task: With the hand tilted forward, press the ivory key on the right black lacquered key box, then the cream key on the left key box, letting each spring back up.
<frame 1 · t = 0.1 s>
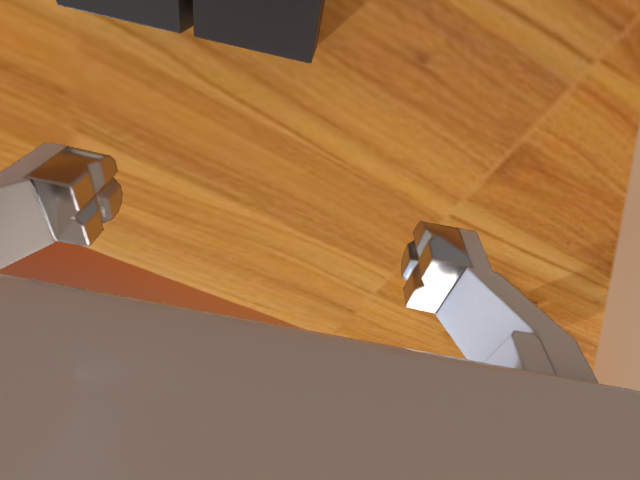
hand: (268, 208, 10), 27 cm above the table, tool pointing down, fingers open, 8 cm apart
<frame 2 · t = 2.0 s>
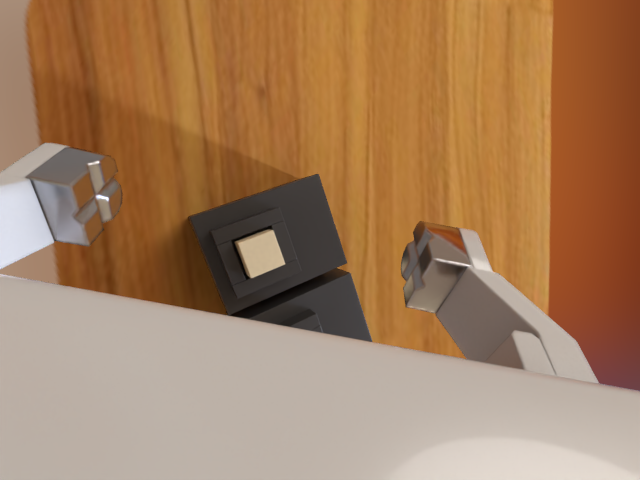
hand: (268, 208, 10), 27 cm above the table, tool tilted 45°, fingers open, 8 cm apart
high key box: (262, 238, 37), on the table
high key: (259, 253, 29), point 7 cm above the table, slide at 0.1 cm
low key box: (294, 324, 39), on the table
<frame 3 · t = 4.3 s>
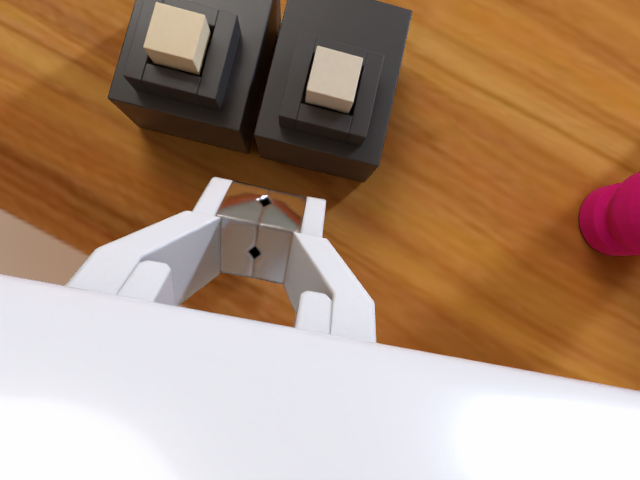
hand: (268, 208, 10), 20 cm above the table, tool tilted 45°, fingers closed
high key box: (211, 72, 30), on the table
high key: (178, 39, 23), point 7 cm above the table, slide at 0.1 cm
low key box: (327, 103, 31), on the table
low key: (333, 80, 23), point 7 cm above the table, slide at 0.1 cm
pepper mill: (608, 221, 32), on the table
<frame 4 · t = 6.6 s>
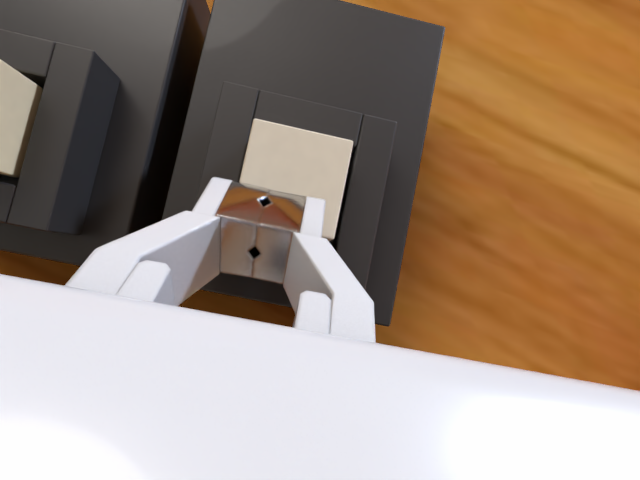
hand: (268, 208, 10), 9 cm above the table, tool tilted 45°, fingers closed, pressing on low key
high key box: (106, 135, 18), on the table
low key box: (301, 178, 19), on the table
low key: (293, 184, 11), point 7 cm above the table, slide at 0.0 cm, touching gripper
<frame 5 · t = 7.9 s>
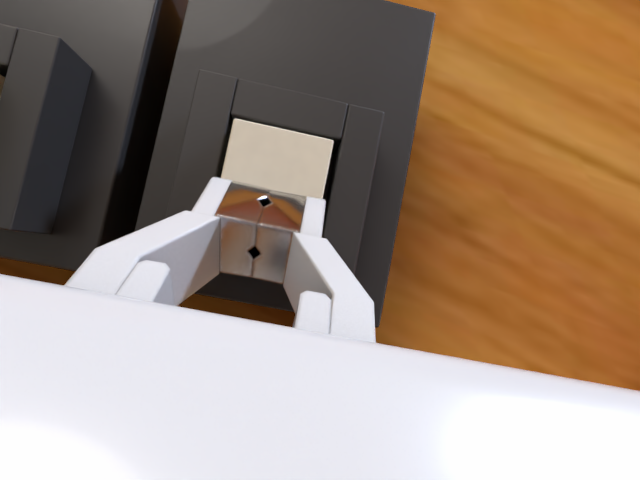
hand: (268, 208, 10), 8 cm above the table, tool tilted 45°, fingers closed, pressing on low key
high key box: (84, 130, 17), on the table
low key box: (288, 173, 18), on the table
low key: (275, 184, 11), point 7 cm above the table, slide at -0.7 cm, touching gripper
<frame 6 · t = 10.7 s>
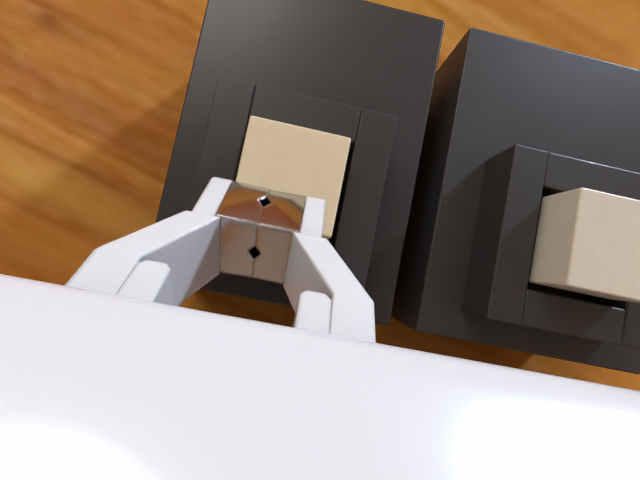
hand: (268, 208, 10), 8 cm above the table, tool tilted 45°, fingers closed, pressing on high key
high key box: (299, 175, 18), on the table
high key: (290, 182, 11), point 7 cm above the table, slide at -0.2 cm, touching gripper
low key box: (483, 215, 19), on the table
low key: (596, 247, 12), point 7 cm above the table, slide at 0.1 cm
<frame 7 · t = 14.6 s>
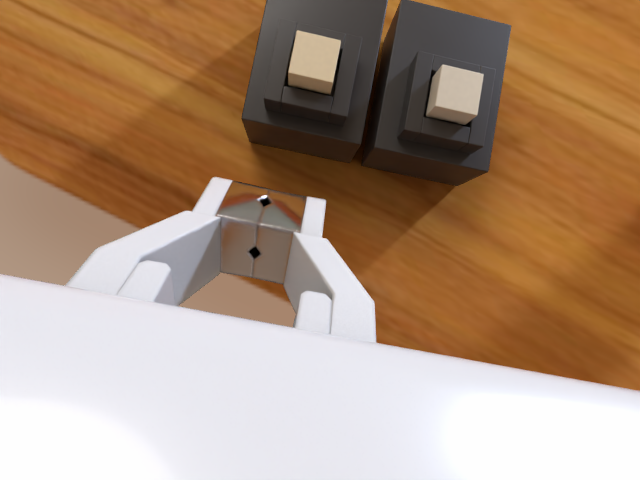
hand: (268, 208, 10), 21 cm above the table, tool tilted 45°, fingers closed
high key box: (313, 88, 32), on the table
high key: (314, 63, 25), point 7 cm above the table, slide at 0.1 cm
low key box: (420, 112, 33), on the table
low key: (454, 95, 25), point 7 cm above the table, slide at 0.1 cm
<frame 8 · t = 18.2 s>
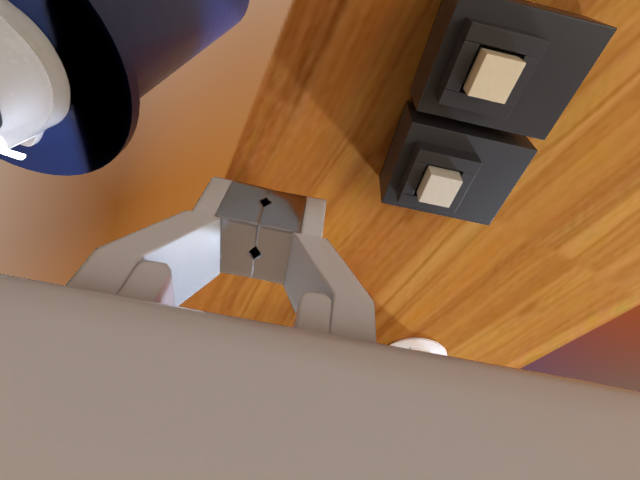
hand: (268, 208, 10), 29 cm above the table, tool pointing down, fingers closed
white curved stand: (414, 354, 65), on the table
high key box: (490, 56, 33), on the table
high key: (492, 76, 27), point 7 cm above the table, slide at 0.1 cm
low key box: (444, 153, 39), on the table
low key: (438, 186, 34), point 7 cm above the table, slide at 0.1 cm
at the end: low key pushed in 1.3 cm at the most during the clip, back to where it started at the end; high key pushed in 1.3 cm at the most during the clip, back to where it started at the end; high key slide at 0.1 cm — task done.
